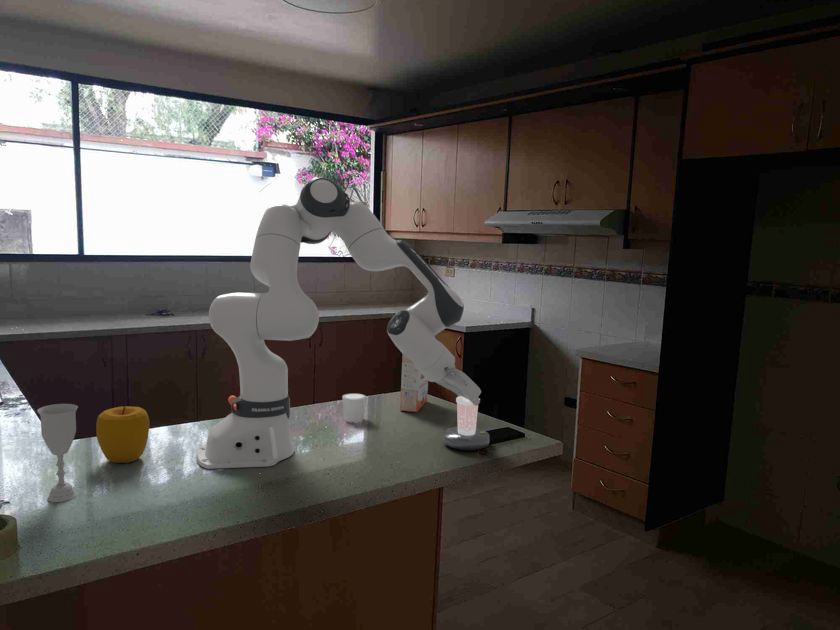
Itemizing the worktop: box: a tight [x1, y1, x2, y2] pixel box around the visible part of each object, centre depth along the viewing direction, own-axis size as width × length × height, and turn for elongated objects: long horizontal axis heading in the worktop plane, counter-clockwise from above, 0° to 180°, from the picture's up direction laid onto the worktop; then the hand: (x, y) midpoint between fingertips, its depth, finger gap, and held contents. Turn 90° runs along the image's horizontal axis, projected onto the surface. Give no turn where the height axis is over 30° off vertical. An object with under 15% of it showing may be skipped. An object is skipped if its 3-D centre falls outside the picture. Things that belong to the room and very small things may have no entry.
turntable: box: [442, 426, 490, 452], centre depth 158 cm, size 12×12×3 cm
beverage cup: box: [455, 396, 481, 436], centre depth 157 cm, size 6×6×14 cm
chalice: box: [37, 403, 79, 503], centre depth 120 cm, size 7×7×18 cm
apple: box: [95, 406, 151, 464], centre depth 140 cm, size 11×11×13 cm
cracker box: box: [399, 352, 429, 413], centre depth 191 cm, size 14×6×21 cm, turn 167°
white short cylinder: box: [341, 392, 367, 423], centre depth 177 cm, size 7×7×7 cm
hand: (469, 399), depth 157 cm, fingers closed on beverage cup, 6 cm apart
